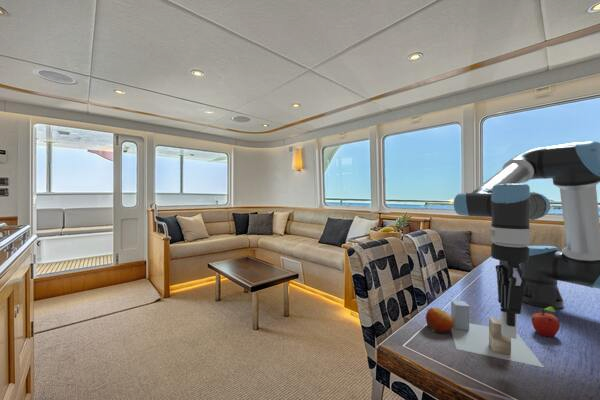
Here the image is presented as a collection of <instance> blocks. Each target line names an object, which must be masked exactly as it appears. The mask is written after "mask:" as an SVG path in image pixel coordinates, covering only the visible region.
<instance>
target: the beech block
mask: <svg viewBox="0 0 600 400" xmlns="http://www.w3.org/2000/svg"><path fill="white" fill-rule="evenodd" d="M488 327H489V345H490V347H491V349H492V351H494V352H498V353H503V354H508V355H511V338H509V337H503V336H502V334H501V318H497V317H490V316H489V317H488Z"/></svg>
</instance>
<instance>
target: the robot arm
mask: <svg viewBox="0 0 600 400" xmlns="http://www.w3.org/2000/svg"><path fill="white" fill-rule="evenodd" d="M537 179H538V180H542V179H551V180H552V183H553V185H554V187H555V186H556V187H558V188H559V193H560V202H561V209H562V218H563V225H564V233H565V241H566V246H564V247H563V248H562V249H561V250H559V248H558V247H557V246H553V245H552V246H551V245H530V244H531V239H530V238H531V237H530V236H531V235H530V234H531V233H530V232H531V228H530V220H531V221H535V220H538V219H540V218H543V217H545V216H546V215H547V214H548V213H549V212H550V211H551V202H550V200H549V199H548V197H546V196H545V195H543V194H541V193H538V192H535V191H531V189H530V188H531V187H530V185H529V184H527V182H529V181H530V180H537ZM599 184H600V142H598V141H595V140H594V141H593V140H592V141H582V142H581V141H578V142H571V143H564V144H558V145H551V146H542V147H536V148H533V149H530V150H527V151H524V152H522V153H519V154H518V155H516V156H514V157H512V158H510V159H509V160H508V161H506V162H505V163H504V164H503V166H502V168H501V170H499V171H498V172H496V173H495V174H494V175H492V176H491V177H490V178H489V179H487V180H486V181H485V182H483V183H482V184H481V185H480V186H478V187H477V188H476V189H474V190H473V191H471V192H463V193H461V192H460V193H458V194H457V195H455V197H454V199H453V208H454V209H453V210H454V212H455V213H456V214H457V215H459V216H464V217H465V216H466V217H469V218H470V217H476V218H478V217H479V218H491V225H490V227H491V230H488V233H489V234H490V235H491V236H490V237H491V242H493V243H492V244H491V245H490V255H491V258H492V259H495V260H497V261H499V262H498V263H499V264H496V265H495V267H494V268H495V273H496V283H497V302H498V304H500V308H499V309H500V313H501V315H500V317H501V318H500V319H501V334H502V336H503V337H509V338H514V339H516V332H517V317H518V316H517V315H521V313H522V305H523V303H525V304H528V305H532V306H536V307H541V308H547V307H553V308H554V309H562V308H564V298H563V297H562V294H561V292H560V289H559V286H558V281H559V282H564V283H569V284H575V285H579V286H584V287H589V288H590V289H597V290H598V289H599V290H600V214H599V205H598V192H597V185H599Z"/></svg>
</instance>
